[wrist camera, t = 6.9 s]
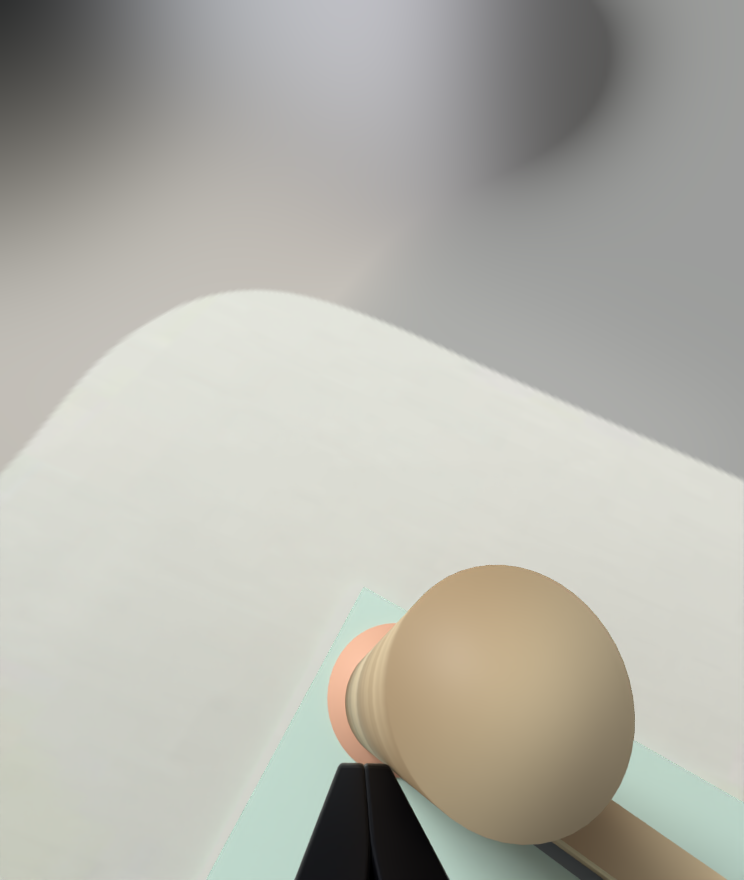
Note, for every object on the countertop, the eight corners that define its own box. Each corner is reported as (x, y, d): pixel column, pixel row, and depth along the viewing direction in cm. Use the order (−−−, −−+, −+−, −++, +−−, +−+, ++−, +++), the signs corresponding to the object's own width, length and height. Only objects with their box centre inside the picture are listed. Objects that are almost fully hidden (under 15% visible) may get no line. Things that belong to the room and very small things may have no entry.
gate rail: (832, 924, 13) (1763, 1314, 5) (806, 1086, 12) (2054, 2049, 3) (384, 618, 15) (469, 509, 7) (319, 725, 14) (325, 752, 6)
